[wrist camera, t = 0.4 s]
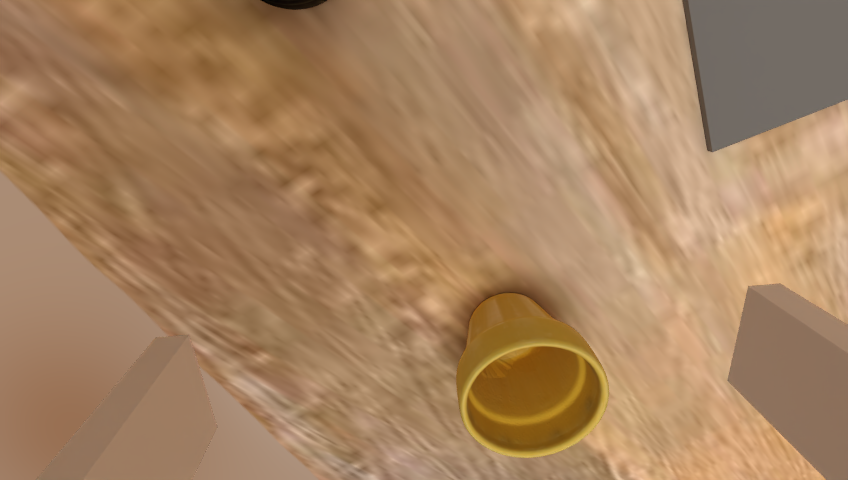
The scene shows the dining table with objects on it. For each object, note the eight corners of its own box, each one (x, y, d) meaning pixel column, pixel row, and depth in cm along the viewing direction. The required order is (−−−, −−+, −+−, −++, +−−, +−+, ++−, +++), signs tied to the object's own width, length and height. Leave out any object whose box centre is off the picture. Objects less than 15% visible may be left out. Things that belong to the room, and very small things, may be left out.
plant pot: (480, 391, 44) (502, 481, 34) (424, 310, 40) (432, 386, 31) (581, 341, 42) (632, 421, 33) (533, 251, 38) (575, 313, 29)
